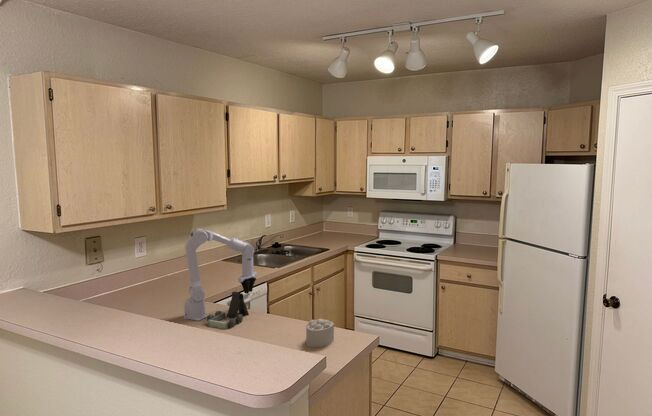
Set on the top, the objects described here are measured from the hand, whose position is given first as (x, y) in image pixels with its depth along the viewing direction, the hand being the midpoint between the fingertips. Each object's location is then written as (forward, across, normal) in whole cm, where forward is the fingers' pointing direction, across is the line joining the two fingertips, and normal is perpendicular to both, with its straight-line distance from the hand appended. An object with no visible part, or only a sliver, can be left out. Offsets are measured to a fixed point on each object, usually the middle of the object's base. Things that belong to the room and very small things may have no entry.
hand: (248, 292), depth 225 cm
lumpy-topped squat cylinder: (+10, -22, -50) cm, 55 cm away
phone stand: (+10, -10, 0) cm, 14 cm away
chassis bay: (+9, -19, 0) cm, 21 cm away
